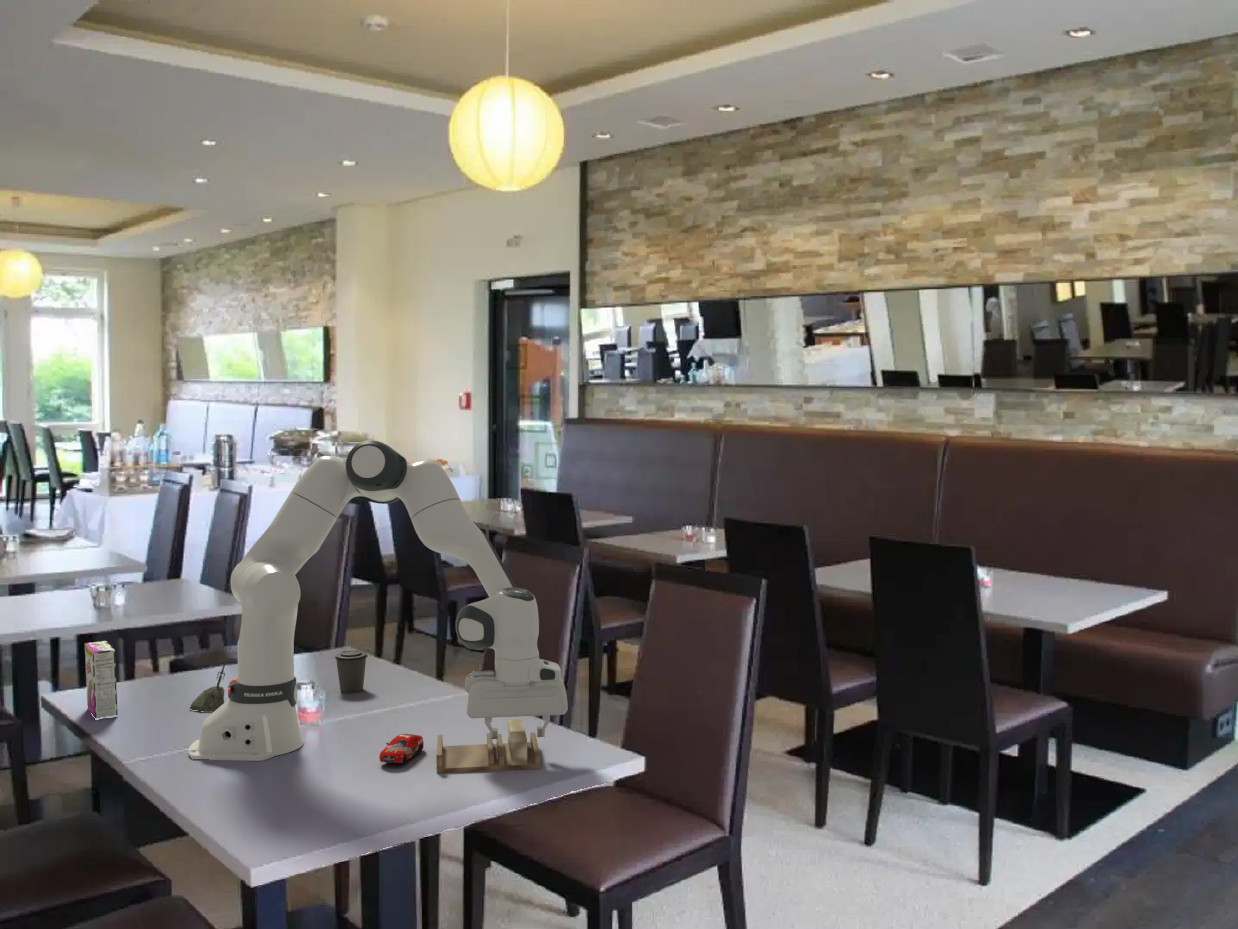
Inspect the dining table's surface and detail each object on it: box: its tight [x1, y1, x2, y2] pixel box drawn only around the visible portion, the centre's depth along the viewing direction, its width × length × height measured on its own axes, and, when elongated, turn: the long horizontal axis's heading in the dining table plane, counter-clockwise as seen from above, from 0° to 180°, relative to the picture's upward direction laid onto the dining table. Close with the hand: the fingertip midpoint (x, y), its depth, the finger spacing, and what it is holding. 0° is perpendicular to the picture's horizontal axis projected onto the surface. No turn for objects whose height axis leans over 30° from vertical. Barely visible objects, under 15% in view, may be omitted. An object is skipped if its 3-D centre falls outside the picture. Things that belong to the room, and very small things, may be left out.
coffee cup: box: [334, 650, 369, 694], centre depth 275 cm, size 8×8×10 cm
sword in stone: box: [189, 657, 228, 711], centre depth 259 cm, size 10×8×12 cm
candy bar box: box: [84, 640, 118, 718], centre depth 253 cm, size 11×5×16 cm, turn 34°
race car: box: [379, 733, 424, 765], centre depth 224 cm, size 13×5×4 cm, turn 166°
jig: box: [435, 732, 541, 774], centre depth 223 cm, size 20×14×4 cm
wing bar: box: [507, 718, 528, 765], centre depth 224 cm, size 3×14×5 cm, turn 8°
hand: (517, 737), depth 224 cm, fingers open, 8 cm apart
